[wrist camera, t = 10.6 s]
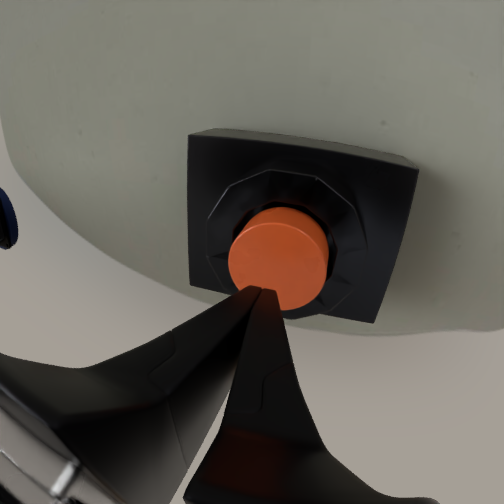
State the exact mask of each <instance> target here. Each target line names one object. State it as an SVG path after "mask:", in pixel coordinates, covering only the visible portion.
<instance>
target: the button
mask: <svg viewBox="0 0 504 504" xmlns="http://www.w3.org/2000/svg"><path fill="white" fill-rule="evenodd" d="M328 256H329V246H328V241H327V238H326V235H325V233H324V231H323V229H322V228H321V226H320V225H319V224H318V223H317V222H316V221H315V220H314V219H313V218H312V217H310V216H309V215H307V214H306V213H304V212H302V211H299V210H297V209H293V208H288V207H275V208H270V209H266V210H264V211H262V212H260V213H258V214H256V215H255V216H254V217H253V218H252V219H251V220H250V221H249V222H248V223H247V225H246V226H245V227H244V229H243V230H242V231H241V232H240V234H239V235H238V236H237V238H236V239H235V241H234V242H233V244H232V246H231V248H230V252H229V258H228V266H229V271H230V275H231V277H232V280H233V282H234V283H235V285H236V287H237V288H238V289H239V290H242V289H243V288H245V287H247V286H249V285H253V286H257V287H261V288H262V289H263V288H267V289H272V290H275V291H276V292H277V296H278V300H279V304H280V308H281V310H291V309H296V308H299V307H301V306H304V305H306V304H307V303H309V302H310V301H312V300H313V299H314V298H315V297H316V296H317V295H318V294H319V292H320V291H321V290H322V288H323V285H324V283H325V280H326V273H327V265H328Z"/></svg>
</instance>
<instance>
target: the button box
mask: <svg viewBox="0 0 504 504" xmlns="http://www.w3.org/2000/svg"><path fill="white" fill-rule="evenodd" d="M418 174H419V169H418V168H417V167H416V166H414V165H413V164H412V163H411V162H410V161H408V160H407V159H406V158H405V157H403V156H399V155H395V154H390V153H386V152H381V151H377V150H372V149H367V148H362V147H357V146H352V145H347V144H341V143H336V142H330V141H324V140H317V139H311V138H304V137H297V136H289V135H281V134H273V133H264V132H254V131H243V130H231V129H216V128H215V129H210V130H206V131H202V132H198V133H194V134H190V135H188V159H187V212H188V254H189V279H190V285H191V286H195V287H199V288H204V289H208V290H212V291H216V292H221V293H225V294H229V295H233V294H235V293H237V292H238V291H240V290H239V289H238V288H237V287H236V285H235V283H234V282H233V280H232V277H231V275H230V271H229V266H228V258H229V252H230V248H231V246H232V244H233V242H234V241H235V239H236V238H237V236H238V235H239V234H240V232H241V231H242V230H243V229H244V227H245V226H246V225H247V223H248V222H249V221H250V220H251V219H252V218H253V217H254V216H255V215H256V214H258V213H260V212H262V211H264V210H266V209H270V208H275V207H288V208H293V209H297V210H299V211H302V212H304V213H306V214H307V215H309V216H310V217H312V218H313V219H314V220H315V221H316V222H317V223H318V224H319V225H320V226H321V228H322V229H323V231H324V233H325V235H326V238H327V241H328V246H329V256H328V265H327V273H326V280H325V283H324V285H323V288H322V290H321V291H320V292H319V294H318V295H317V296H316V297H315V298H314V299H313V300H312V301H310V302H309V303H307V304H306V305H304V306H301V307H299V308H296V309H291V310H281V312H282V317H283V318H286V319H291V320H292V319H299V318H303V317H308V316H312V315H317V314H324V315H329V316H334V317H339V318H345V319H350V320H356V321H361V322H367V323H374V322H375V319H376V317H377V314H378V311H379V309H380V306H381V303H382V300H383V298H384V295H385V292H386V289H387V286H388V283H389V280H390V277H391V274H392V271H393V268H394V265H395V262H396V259H397V255H398V252H399V249H400V245H401V242H402V238H403V235H404V231H405V228H406V224H407V220H408V216H409V213H410V209H411V205H412V200H413V196H414V192H415V188H416V183H417V178H418Z"/></svg>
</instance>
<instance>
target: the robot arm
mask: <svg viewBox="0 0 504 504" xmlns="http://www.w3.org/2000/svg"><path fill="white" fill-rule="evenodd" d="M0 246H2V247H5V248H7V249H10V248H11V247H12V244H11V240H10V236H9V232H8V228H7V224H6V219H5V215H4V210H3V205H2V200H1V198H0ZM230 388H231V389H230ZM229 390H230V393H229V397H228V400H227V404H226V408H225V412H224V416H223V419H222V423H221V426H220V429H219V431H218V434H217V435H216V437H215V439H214V441H213V442H212V444H211V446H210V448H209V450H208V451H207V453H206V455H205V457H204V459H203V460H202V462H201V464H200V465H199V467H198V469H197V471H196V472H195V474H194V476H193V477H192V479H191V481H190V482H189V484H188V486H187V488H186V490H185V493H184V496H183V499H184V501H185V503H186V504H439V503H438V502H437V501H436V500H434V499H432V498H424V497H415V498H396V497H391V496H387V495H384V494H381V493H379V492H377V491H375V490H374V489H372V488H371V487H370V486H368V485H367V484H366V483H365V482H363V481H362V480H361V479H359V478H358V477H357V476H356V475H355V474H354V473H352V472H351V471H350V470H349V469H347V468H346V467H345V466H344V465H343V464H342V463H340V462H339V461H338V460H337V459H336V458H334V457H333V456H332V455H331V454H330V452H329V451H328V450H327V448H326V447H325V445H324V443H323V442H322V439H321V437H320V435H319V433H318V431H317V428H316V426H315V423H314V421H313V419H312V416H311V414H310V412H309V409H308V407H307V404H306V402H305V400H304V397H303V394H302V391H301V389H300V386H299V382H298V379H297V375H296V372H295V367H294V363H293V359H292V355H291V351H290V346H289V342H288V338H287V334H286V329H285V325H284V321H283V317H282V312H281V308H280V304H279V300H278V296H277V292H276V291H275V290H272V289H267V288H263V289H262V288H261V287H257V286H253V285H249V286H247V287H245V288H243V289H242V290H240V291H238V292H237V293H235V294H233V295H231V296H230V297H228V298H226V299H224V300H223V301H221V302H219V303H218V304H216V305H214V306H212V307H211V308H209V309H207V310H205V311H204V312H202V313H200V314H198V315H197V316H195V317H193V318H192V319H190V320H188V321H186V322H184V323H183V324H181V325H179V326H177V327H175V328H174V329H172V331H168V332H166V333H165V334H163V335H161V336H159V337H157V338H155V339H153V340H151V341H150V342H148V343H146V344H143V345H141V346H139V347H137V348H134V349H132V350H130V351H127V352H125V353H123V354H120V355H118V356H115V357H113V358H111V359H108V360H106V361H103V362H101V363H98V364H95V365H93V366H89V367H85V368H66V367H60V366H54V365H48V364H42V363H38V362H33V361H28V360H23V359H18V358H14V357H10V356H7V355H4V354H2V353H0V504H169V503H170V502H171V500H172V498H173V496H174V494H175V493H176V491H177V489H178V487H179V485H180V484H181V482H182V480H183V478H184V477H185V475H186V473H187V471H188V469H189V467H190V465H191V463H192V461H193V460H194V458H195V456H196V454H197V452H198V450H199V448H200V447H201V445H202V443H203V441H204V439H205V437H206V435H207V433H208V431H209V429H210V427H211V426H212V424H213V422H214V420H215V418H216V416H217V414H218V412H219V410H220V408H221V406H222V404H223V402H224V400H225V398H226V396H227V394H228V392H229Z"/></svg>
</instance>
